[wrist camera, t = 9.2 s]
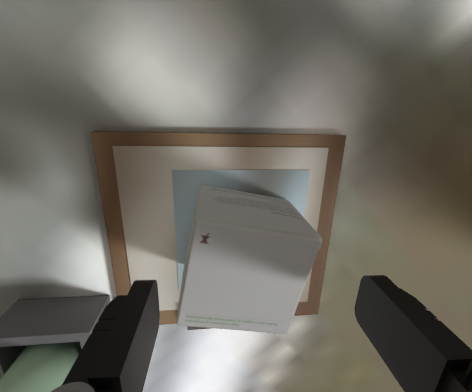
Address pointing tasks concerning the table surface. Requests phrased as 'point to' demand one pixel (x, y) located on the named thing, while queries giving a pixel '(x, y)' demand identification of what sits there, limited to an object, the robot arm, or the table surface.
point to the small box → (245, 262)
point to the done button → (40, 367)
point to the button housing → (47, 324)
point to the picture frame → (186, 192)
